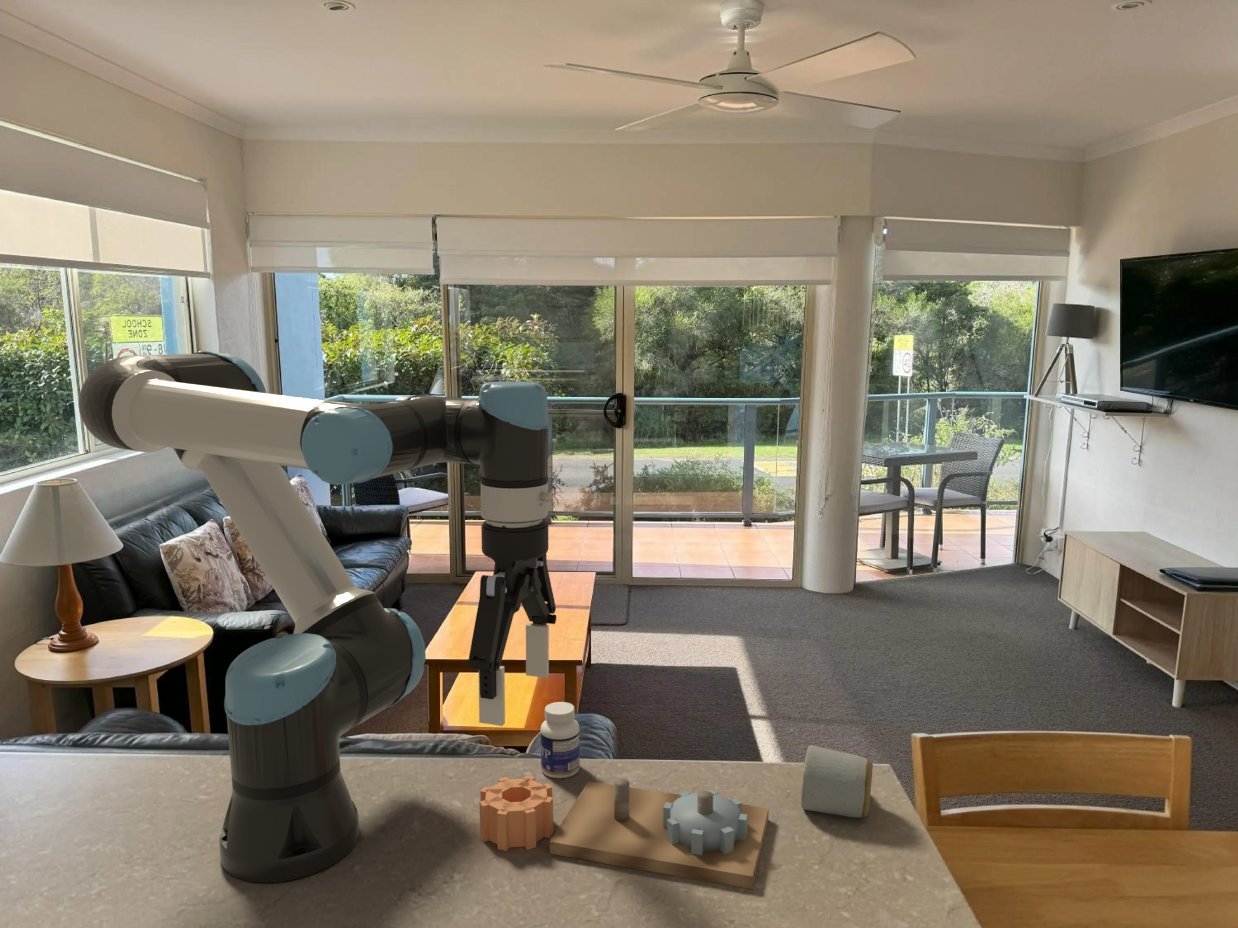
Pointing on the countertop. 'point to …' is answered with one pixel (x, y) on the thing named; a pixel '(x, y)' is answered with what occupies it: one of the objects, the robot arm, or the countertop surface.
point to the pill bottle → (560, 741)
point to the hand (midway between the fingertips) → (516, 697)
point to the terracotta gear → (516, 813)
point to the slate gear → (705, 823)
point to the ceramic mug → (836, 783)
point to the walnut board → (652, 835)
